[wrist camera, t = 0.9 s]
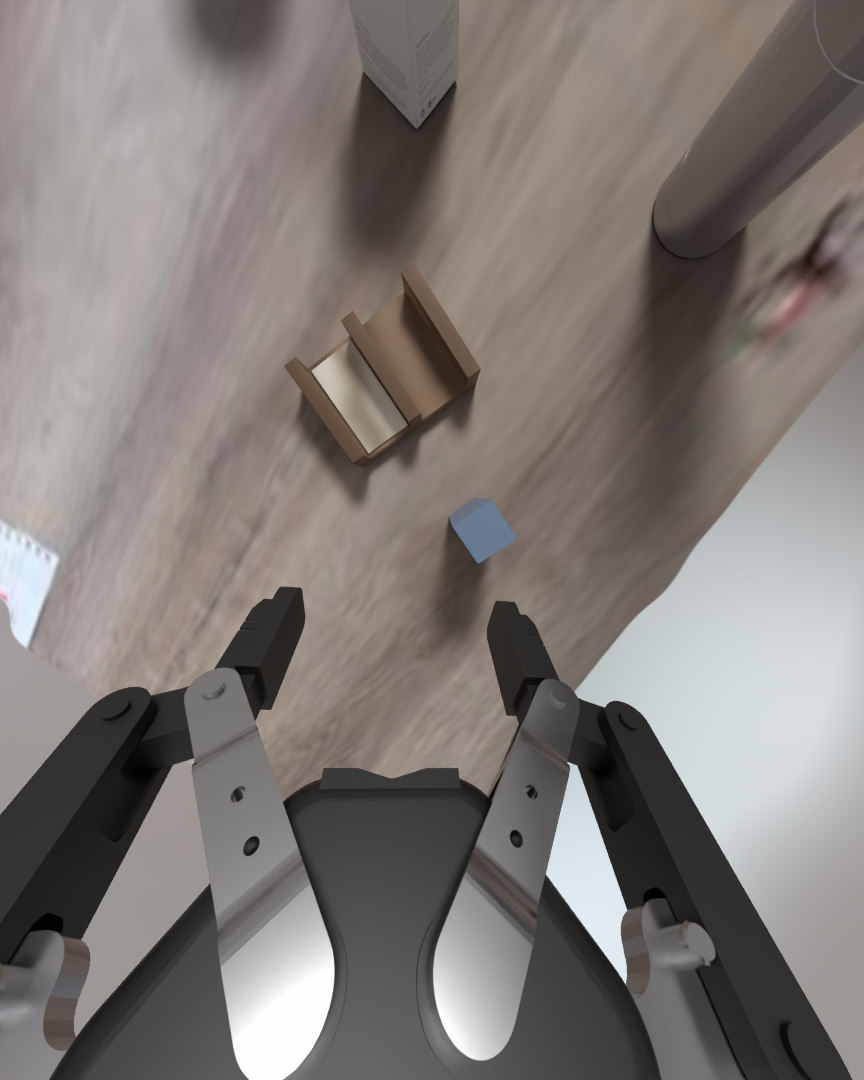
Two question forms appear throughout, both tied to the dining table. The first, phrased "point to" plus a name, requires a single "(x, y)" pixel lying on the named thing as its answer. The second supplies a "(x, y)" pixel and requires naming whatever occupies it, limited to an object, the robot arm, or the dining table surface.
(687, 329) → the dining table surface
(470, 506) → the block
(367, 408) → the rack
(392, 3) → the skincare box
